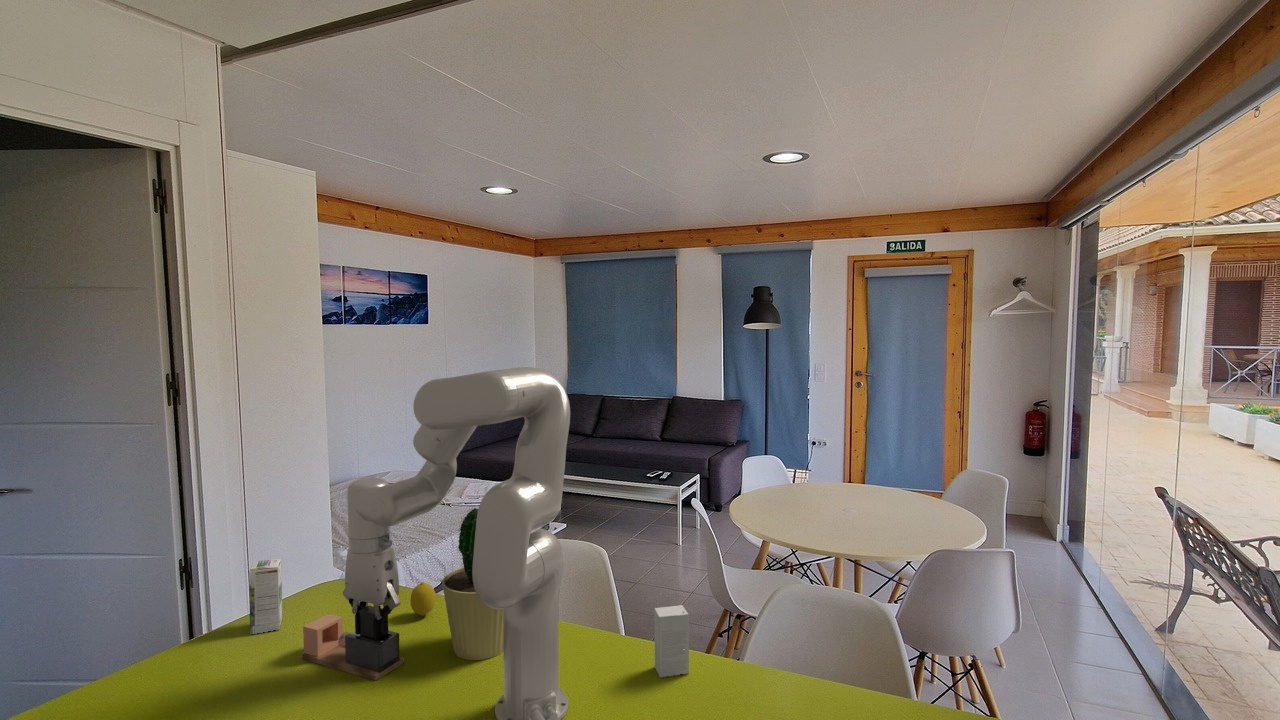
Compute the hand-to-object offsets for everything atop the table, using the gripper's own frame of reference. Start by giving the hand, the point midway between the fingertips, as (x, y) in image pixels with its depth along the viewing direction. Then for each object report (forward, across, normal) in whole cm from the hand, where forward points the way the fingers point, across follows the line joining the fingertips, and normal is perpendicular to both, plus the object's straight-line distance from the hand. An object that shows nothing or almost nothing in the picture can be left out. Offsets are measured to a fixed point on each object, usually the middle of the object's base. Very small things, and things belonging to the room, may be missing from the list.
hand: (371, 632), depth 123 cm
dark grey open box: (+7, 0, 0) cm, 7 cm away
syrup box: (+7, +34, -3) cm, 35 cm away
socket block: (+7, +14, 0) cm, 15 cm away
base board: (+7, +6, 0) cm, 9 cm away
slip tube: (+4, +2, 0) cm, 5 cm away
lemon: (+7, +6, -21) cm, 23 cm away
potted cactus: (+7, -15, -15) cm, 22 cm away
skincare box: (+7, -55, -22) cm, 59 cm away
